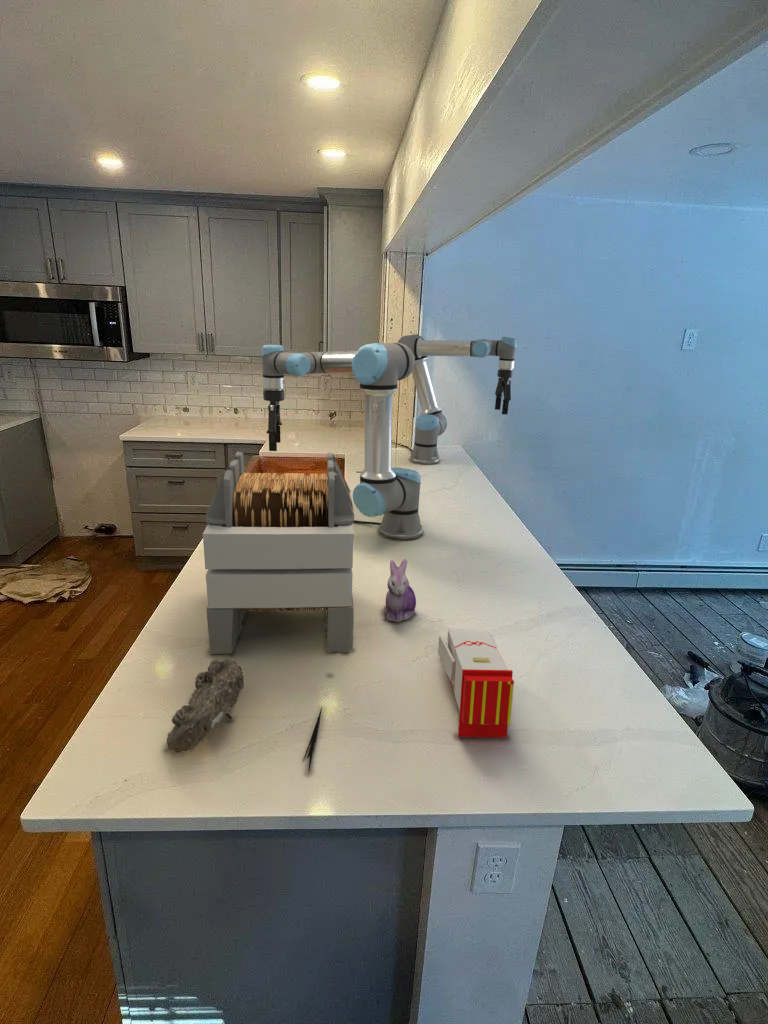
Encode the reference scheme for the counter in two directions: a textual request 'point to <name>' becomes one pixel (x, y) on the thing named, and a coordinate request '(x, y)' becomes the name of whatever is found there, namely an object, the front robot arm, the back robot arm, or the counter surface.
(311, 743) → the feather
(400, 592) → the figurine
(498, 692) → the toy
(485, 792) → the counter surface
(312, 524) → the grey box with legs
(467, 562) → the counter surface
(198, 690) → the fossil
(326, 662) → the counter surface
